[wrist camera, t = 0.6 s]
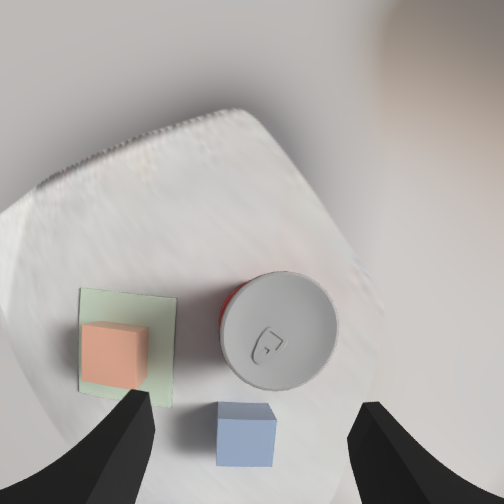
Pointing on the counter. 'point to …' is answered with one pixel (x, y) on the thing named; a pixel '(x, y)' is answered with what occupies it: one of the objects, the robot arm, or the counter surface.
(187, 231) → the counter surface
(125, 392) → the plate
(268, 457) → the blue brick
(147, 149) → the counter surface
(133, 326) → the terracotta brick
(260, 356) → the canned food
